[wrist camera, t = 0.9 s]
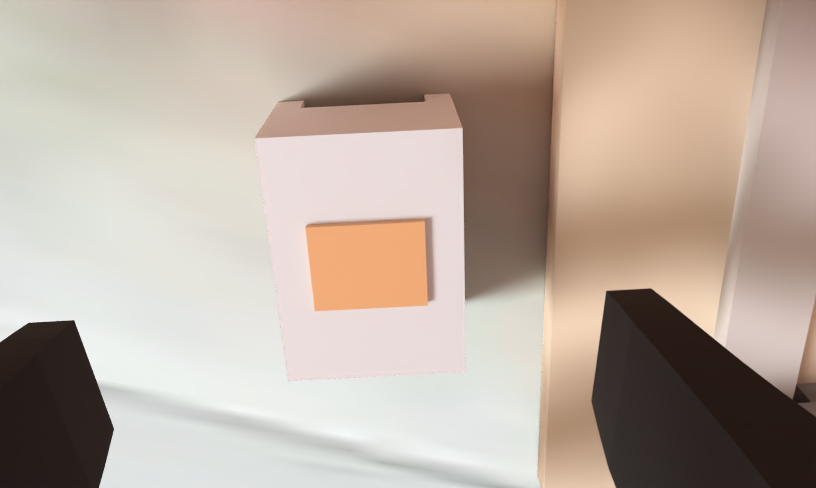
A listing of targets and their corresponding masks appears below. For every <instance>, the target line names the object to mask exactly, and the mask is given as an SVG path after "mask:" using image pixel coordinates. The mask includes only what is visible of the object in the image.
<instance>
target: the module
mask: <svg viewBox="0 0 816 488" xmlns="http://www.w3.org/2000/svg"><path fill="white" fill-rule="evenodd" d="M255 146H256V153H257V160H258V167H259V174H260V182H261V189H262V196H263V203H264V211H265V218H266V225H267V232H268V240H269V247H270V254H271V261H272V269H273V276H274V283H275V290H276V298H277V305H278V312H279V319H280V327H281V334H282V341H283V348H284V356H285V363H286V370H287V377H288V381H297V380H316V379H336V378H356V377H376V376H395V375H415V374H435V373H455V372H466V349H465V271H464V194H463V128H462V125H461V122H460V119H459V117H458V114H457V111H456V108H455V106H454V103H453V100H452V98H451V95H450V93H447V94H426V95H424V102H409V103H389V104H369V105H349V106H329V107H308V108H305V104H304V101H285V102H278V103H277V105H276V106H275V108H274V109H273V111H272V112H271V114H270V115H269V117H268V119H267V120H266V122H265V123H264V125H263V126H262V128H261V129H260V131H259V132H258V134H257V135H256V137H255Z"/></svg>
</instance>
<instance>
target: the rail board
mask: <svg viewBox="0 0 816 488" xmlns="http://www.w3.org/2000/svg"><path fill="white" fill-rule="evenodd" d="M647 288H651V289H653V290H654V291H655V292H656V293H658V294H659V295H660V296H662V297H663V298H664V299H666V300H667V301H668V302H669V303H671V304H672V305H673V306H674V307H676V308H677V309H678V310H679V311H680V312H682V313H683V314H684V315H685V316H687V317H688V318H689V319H690V320H692V321H693V322H694V323H695V324H696V325H698V326H699V327H700V328H701V329H703V330H704V331H705V332H706V333H707V334H709V335H710V336H711V337H712V338H714V339H715V340H716V341H717V342H719V343H720V344H721V345H722V346H724V347H725V348H726V349H727V350H729V351H730V352H731V353H732V354H734V355H735V356H736V357H737V358H739V359H740V360H741V361H742V362H744V363H745V364H746V365H747V366H749V367H750V368H751V369H753V370H754V371H755V372H757V373H758V374H759V375H760V376H762V377H763V378H764V379H766V380H767V381H768V382H769V383H771V384H772V385H773V386H775V387H776V388H777V389H779V390H780V391H781V392H783V393H784V394H785V395H787V396H788V397H790V398H791V399H792V400H794V401H795V402H796V403H798V404H799V405H800V406H802V407H803V408H804V409H806V410H807V411H809V412H810V413H811V414H813V415H814V416H816V0H557V6H556V31H555V56H554V81H553V105H552V130H551V155H550V180H549V204H548V229H547V254H546V279H545V303H544V328H543V353H542V378H541V402H540V427H539V452H538V479H539V483H540V486H541V488H616V487H615V484H614V481H613V479H612V476H611V473H610V471H609V468H608V465H607V461H606V457H605V454H604V450H603V446H602V442H601V439H600V435H599V431H598V427H597V423H596V419H595V415H594V411H593V406H592V402H591V399H592V392H593V384H594V377H595V369H596V362H597V355H598V347H599V340H600V333H601V325H602V318H603V311H604V303H605V296H606V291H611V290H629V289H647Z"/></svg>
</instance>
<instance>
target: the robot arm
mask: <svg viewBox="0 0 816 488" xmlns="http://www.w3.org/2000/svg"><path fill="white" fill-rule="evenodd" d="M591 402H592V406H593V411H594V415H595V419H596V423H597V427H598V431H599V435H600V439H601V442H602V446H603V450H604V454H605V457H606V461H607V465H608V468H609V471H610V473H611V476H612V479H613V481H614V484H615V487H616V488H816V416H814V415H813V414H811V413H810V412H809V411H807V410H806V409H804V408H803V407H802V406H800V405H799V404H798V403H796V402H795V401H794V400H792V399H791V398H790V397H788V396H787V395H785V394H784V393H783V392H781V391H780V390H779V389H777V388H776V387H775V386H773V385H772V384H771V383H769V382H768V381H767V380H766V379H764V378H763V377H762V376H760V375H759V374H758V373H757V372H755V371H754V370H753V369H751V368H750V367H749V366H747V365H746V364H745V363H744V362H742V361H741V360H740V359H739V358H737V357H736V356H735V355H734V354H732V353H731V352H730V351H729V350H727V349H726V348H725V347H724V346H722V345H721V344H720V343H719V342H717V341H716V340H715V339H714V338H712V337H711V336H710V335H709V334H707V333H706V332H705V331H704V330H703V329H701V328H700V327H699V326H698V325H696V324H695V323H694V322H693V321H692V320H690V319H689V318H688V317H687V316H685V315H684V314H683V313H682V312H680V311H679V310H678V309H677V308H676V307H674V306H673V305H672V304H671V303H669V302H668V301H667V300H666V299H664V298H663V297H662V296H660V295H659V294H658V293H656V292H655V291H654V290H653V289H651V288H647V289H629V290H611V291H606V296H605V303H604V311H603V318H602V325H601V333H600V340H599V347H598V355H597V362H596V369H595V377H594V384H593V392H592V399H591ZM113 431H114V428H113V425H112V422H111V419H110V417H109V414H108V411H107V409H106V406H105V403H104V400H103V398H102V395H101V392H100V390H99V387H98V384H97V381H96V379H95V376H94V373H93V370H92V368H91V365H90V362H89V360H88V357H87V354H86V351H85V349H84V346H83V343H82V341H81V338H80V335H79V332H78V330H77V327H76V324H75V321H74V320H72V321H54V322H36V323H28V324H26V325H25V326H23V327H22V328H20V329H19V330H17V331H16V332H14V333H13V334H11V335H10V336H8V337H7V338H6V339H4V340H3V341H1V342H0V488H99V485H100V482H101V478H102V474H103V471H104V467H105V463H106V459H107V455H108V451H109V447H110V443H111V439H112V435H113Z"/></svg>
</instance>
